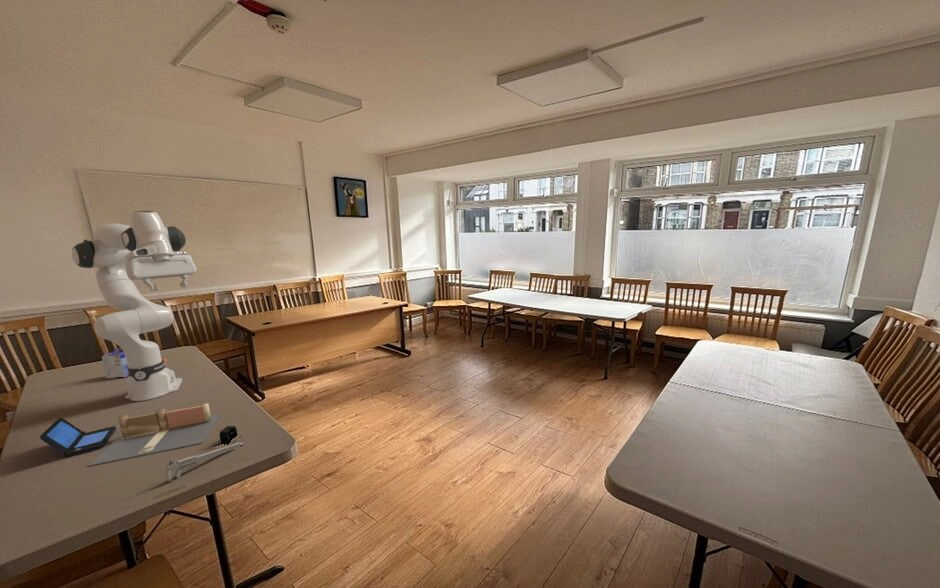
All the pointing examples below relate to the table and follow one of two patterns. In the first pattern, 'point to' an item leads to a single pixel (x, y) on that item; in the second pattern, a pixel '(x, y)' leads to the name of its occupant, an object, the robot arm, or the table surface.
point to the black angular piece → (227, 435)
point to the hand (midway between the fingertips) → (169, 288)
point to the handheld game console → (75, 438)
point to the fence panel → (188, 416)
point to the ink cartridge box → (115, 364)
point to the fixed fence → (143, 423)
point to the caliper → (194, 460)
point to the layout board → (156, 441)
